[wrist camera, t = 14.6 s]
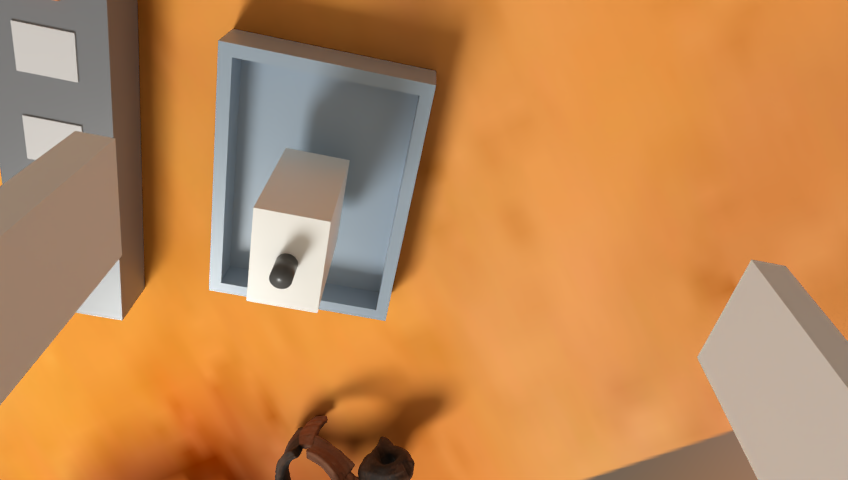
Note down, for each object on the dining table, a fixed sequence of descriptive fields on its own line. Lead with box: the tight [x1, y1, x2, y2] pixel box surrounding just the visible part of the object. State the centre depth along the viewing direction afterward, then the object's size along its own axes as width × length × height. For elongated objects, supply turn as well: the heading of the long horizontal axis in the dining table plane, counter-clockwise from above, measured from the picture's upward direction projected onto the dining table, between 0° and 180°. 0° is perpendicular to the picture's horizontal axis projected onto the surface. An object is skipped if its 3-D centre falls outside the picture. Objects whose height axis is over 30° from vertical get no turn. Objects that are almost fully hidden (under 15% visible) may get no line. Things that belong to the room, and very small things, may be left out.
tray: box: [209, 29, 436, 321], centre depth 42 cm, size 18×13×3 cm
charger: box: [246, 148, 350, 313], centre depth 38 cm, size 6×4×12 cm, turn 169°
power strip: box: [0, 0, 145, 320], centre depth 38 cm, size 32×7×5 cm, turn 169°
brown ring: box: [275, 416, 414, 480], centre depth 55 cm, size 12×10×8 cm
